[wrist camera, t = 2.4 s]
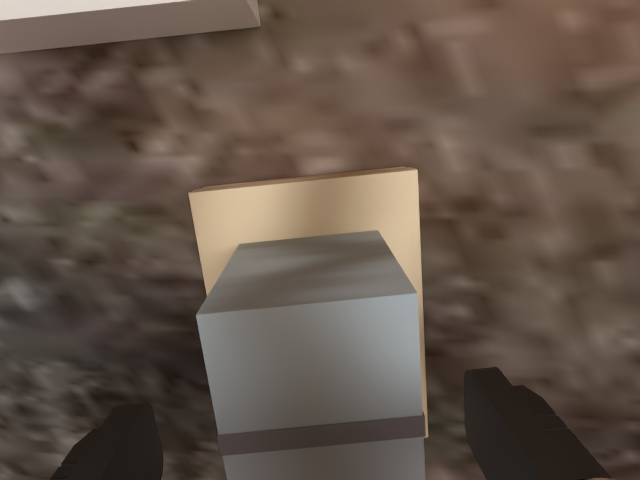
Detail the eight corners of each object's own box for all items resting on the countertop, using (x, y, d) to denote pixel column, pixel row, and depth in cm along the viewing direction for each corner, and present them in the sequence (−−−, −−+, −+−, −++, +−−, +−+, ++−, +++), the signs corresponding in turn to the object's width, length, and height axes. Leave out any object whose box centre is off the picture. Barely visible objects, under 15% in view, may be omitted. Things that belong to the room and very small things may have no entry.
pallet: (403, 163, 17) (484, 198, 9) (414, 400, 20) (484, 589, 12) (204, 183, 17) (109, 236, 9) (244, 417, 20) (198, 615, 12)
